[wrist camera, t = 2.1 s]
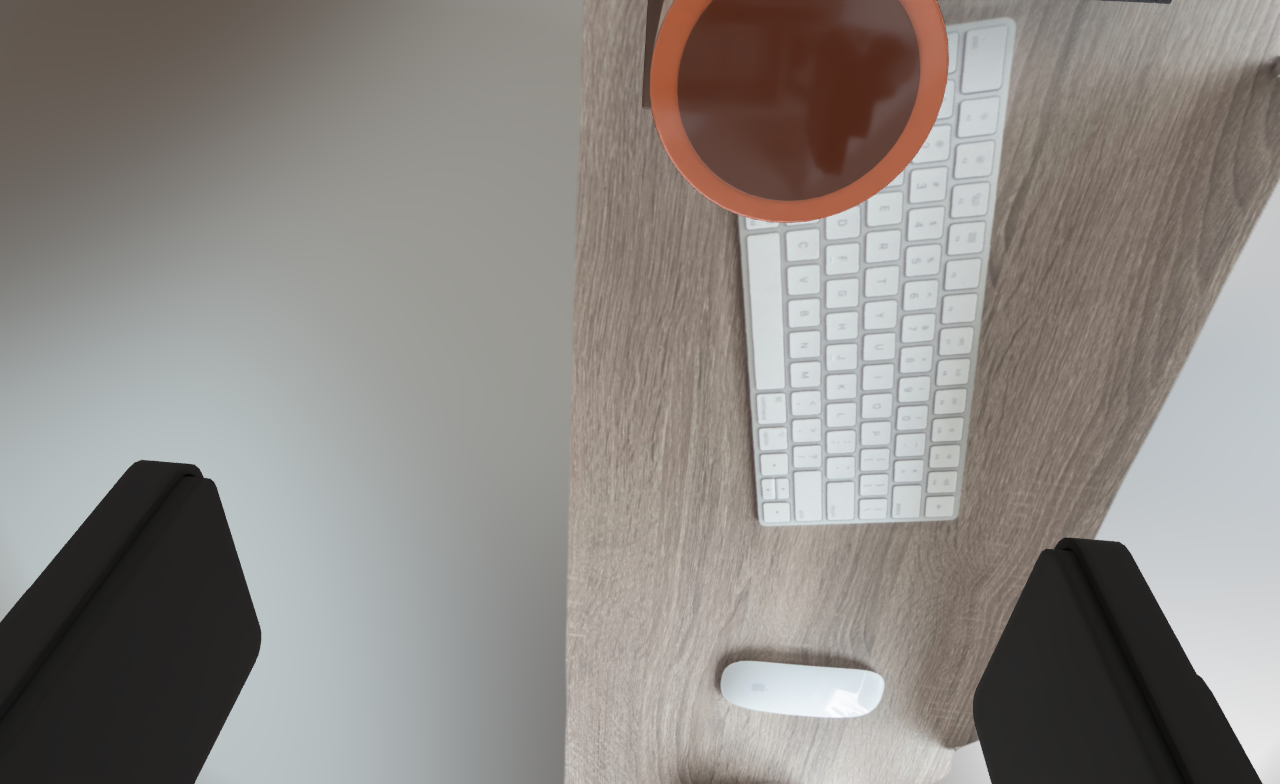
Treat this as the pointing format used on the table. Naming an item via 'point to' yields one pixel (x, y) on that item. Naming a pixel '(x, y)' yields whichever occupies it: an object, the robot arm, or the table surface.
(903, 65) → the tumbler
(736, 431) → the table surface
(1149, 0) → the divided tray
